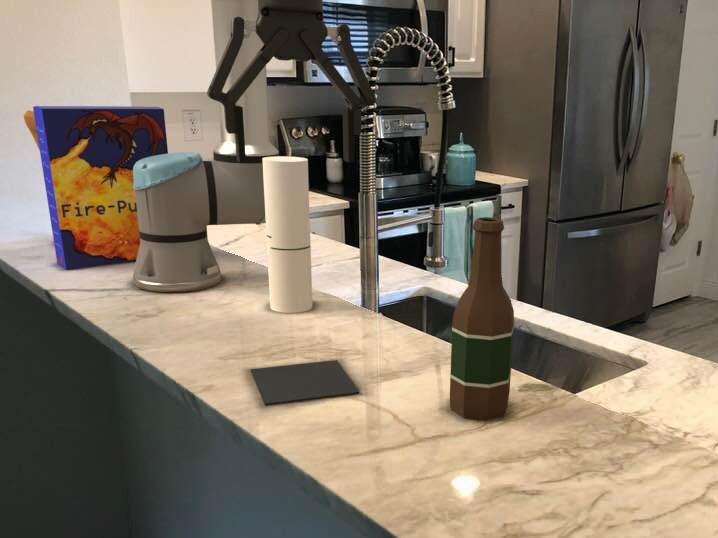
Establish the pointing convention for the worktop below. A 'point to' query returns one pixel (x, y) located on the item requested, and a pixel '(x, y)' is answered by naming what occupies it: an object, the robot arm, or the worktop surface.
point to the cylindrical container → (288, 233)
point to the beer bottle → (482, 332)
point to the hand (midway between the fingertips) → (296, 161)
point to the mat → (302, 382)
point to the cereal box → (95, 178)
